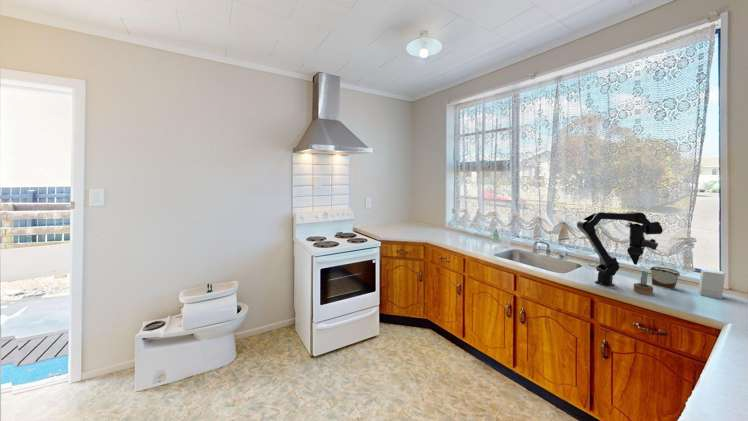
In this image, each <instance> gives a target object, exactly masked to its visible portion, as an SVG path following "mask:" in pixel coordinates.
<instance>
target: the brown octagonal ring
mask: <svg viewBox="0 0 748 421" xmlns="http://www.w3.org/2000/svg"><path fill="white" fill-rule="evenodd" d="M633 291H634V292H635V293H638V294H640V295H641V294H642V295H653V294H654V287H653V286H652V285H649V284H647V286H646V287H644V286H640V283H639V282H638V283H637V282H635V283H634V284H633Z"/></svg>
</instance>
